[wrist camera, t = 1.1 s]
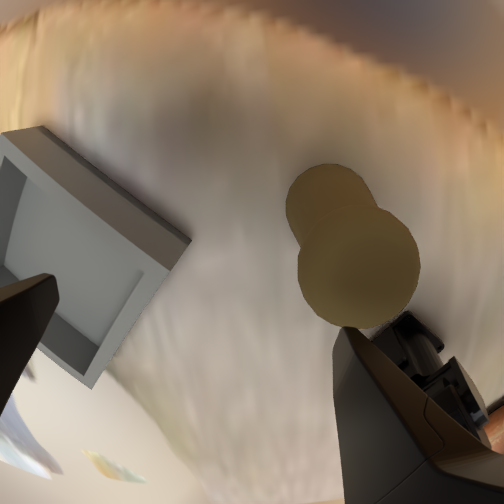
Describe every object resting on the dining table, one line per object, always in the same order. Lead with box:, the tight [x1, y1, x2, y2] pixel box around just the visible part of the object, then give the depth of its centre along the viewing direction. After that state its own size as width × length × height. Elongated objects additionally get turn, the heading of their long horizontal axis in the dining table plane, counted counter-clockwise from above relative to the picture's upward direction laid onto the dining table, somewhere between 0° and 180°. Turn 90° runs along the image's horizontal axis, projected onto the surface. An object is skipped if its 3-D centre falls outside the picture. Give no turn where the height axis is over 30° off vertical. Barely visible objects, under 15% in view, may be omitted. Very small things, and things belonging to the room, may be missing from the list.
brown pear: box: [286, 164, 421, 329], centre depth 16 cm, size 6×6×11 cm
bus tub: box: [0, 126, 192, 389], centre depth 22 cm, size 16×16×5 cm
